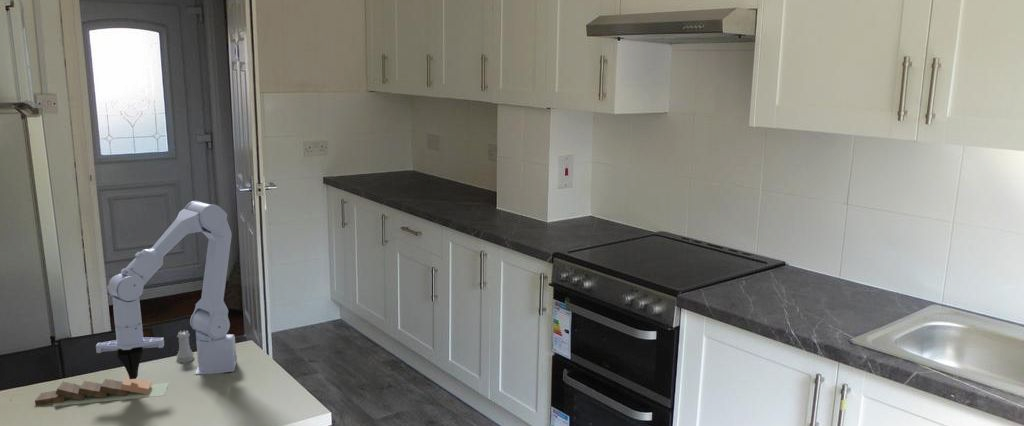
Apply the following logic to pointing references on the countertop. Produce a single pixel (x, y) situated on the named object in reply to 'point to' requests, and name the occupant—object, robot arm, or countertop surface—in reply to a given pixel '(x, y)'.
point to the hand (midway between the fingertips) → (133, 377)
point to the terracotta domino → (136, 385)
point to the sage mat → (118, 396)
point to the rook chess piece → (184, 347)
